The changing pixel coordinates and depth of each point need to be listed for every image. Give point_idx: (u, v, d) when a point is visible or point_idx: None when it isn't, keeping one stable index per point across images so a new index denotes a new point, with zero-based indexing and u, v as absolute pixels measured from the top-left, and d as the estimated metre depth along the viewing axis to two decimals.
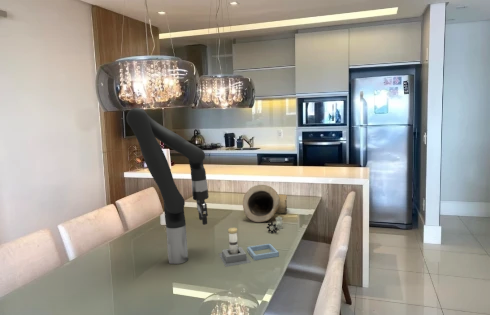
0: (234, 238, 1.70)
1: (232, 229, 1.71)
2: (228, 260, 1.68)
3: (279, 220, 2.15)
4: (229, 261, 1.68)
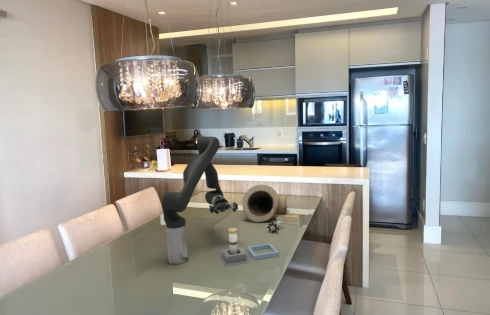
0: (234, 238, 1.70)
1: (232, 229, 1.71)
2: (228, 260, 1.68)
3: (279, 220, 2.15)
4: (229, 261, 1.68)
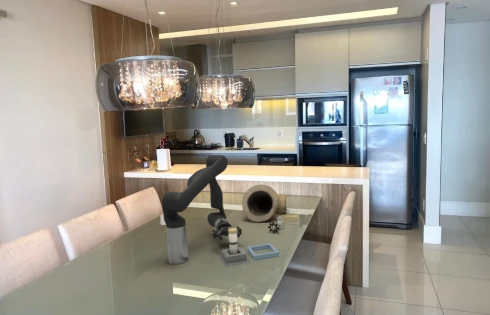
0: (234, 238, 1.70)
1: (232, 229, 1.71)
2: (228, 260, 1.68)
3: (280, 220, 2.15)
4: (229, 261, 1.68)
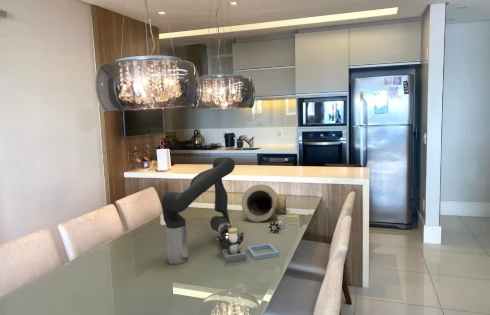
0: (234, 238, 1.70)
1: (232, 229, 1.71)
2: (228, 260, 1.68)
3: (281, 220, 2.15)
4: (229, 261, 1.68)
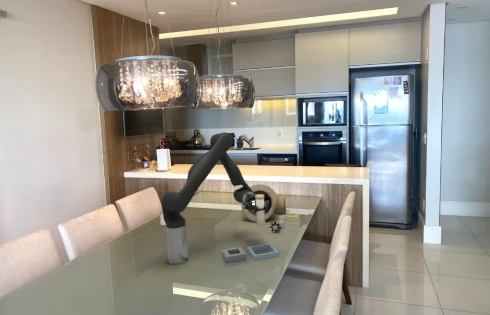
0: (262, 204, 1.72)
1: (259, 195, 1.73)
2: (228, 260, 1.68)
3: (281, 219, 2.16)
4: (229, 261, 1.68)
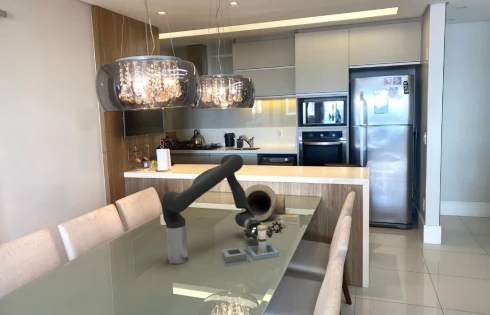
0: (263, 235, 1.74)
1: (261, 226, 1.74)
2: (228, 260, 1.68)
3: (282, 219, 2.16)
4: (229, 261, 1.68)
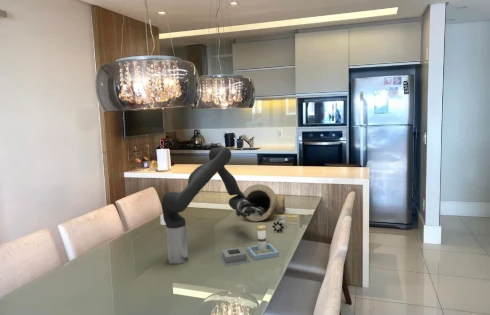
0: (263, 235, 1.74)
1: (261, 226, 1.75)
2: (228, 260, 1.68)
3: (283, 219, 2.16)
4: (229, 261, 1.68)
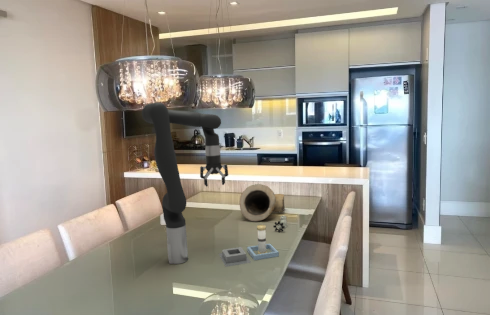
0: (263, 235, 1.74)
1: (261, 226, 1.75)
2: (228, 260, 1.68)
3: (284, 219, 2.17)
4: (229, 261, 1.68)
